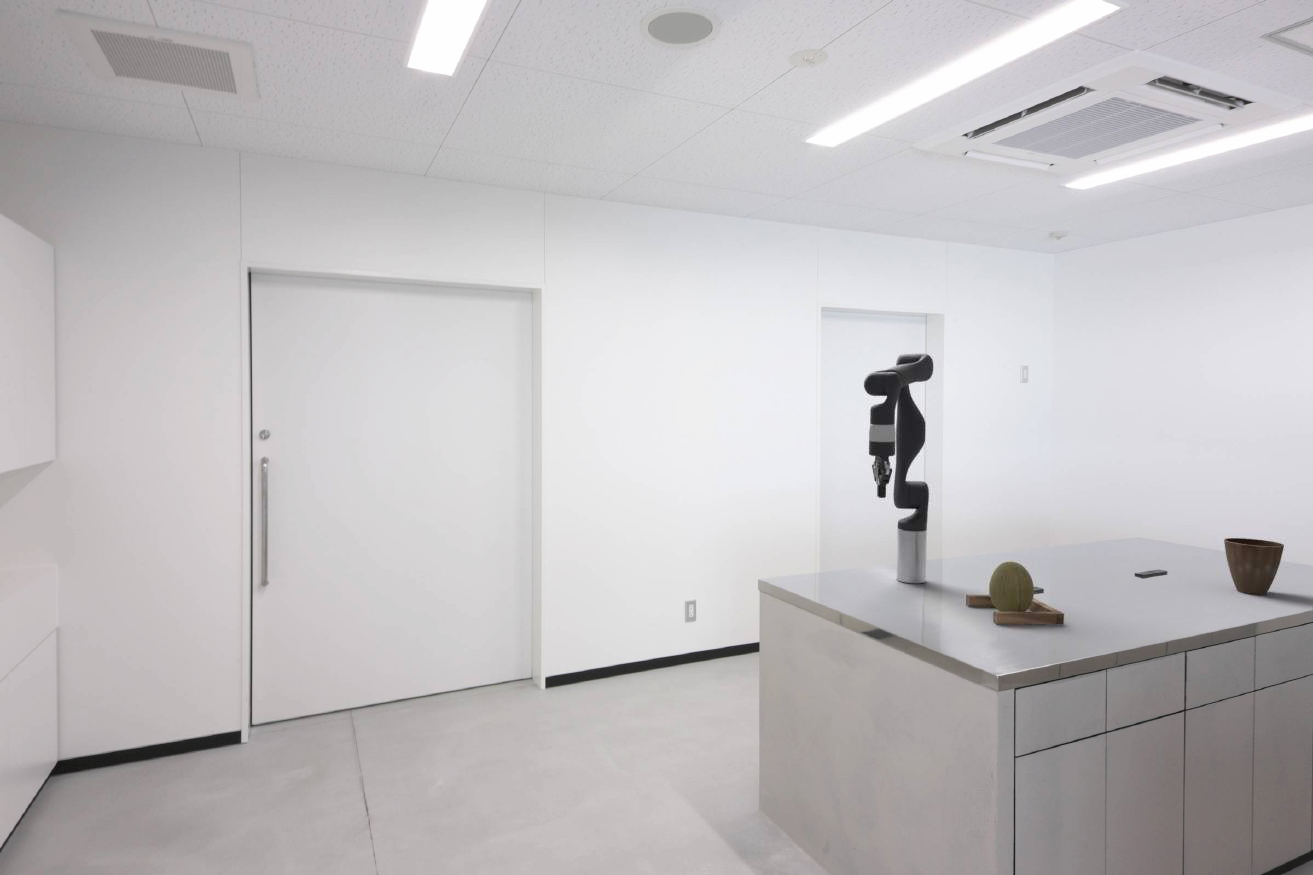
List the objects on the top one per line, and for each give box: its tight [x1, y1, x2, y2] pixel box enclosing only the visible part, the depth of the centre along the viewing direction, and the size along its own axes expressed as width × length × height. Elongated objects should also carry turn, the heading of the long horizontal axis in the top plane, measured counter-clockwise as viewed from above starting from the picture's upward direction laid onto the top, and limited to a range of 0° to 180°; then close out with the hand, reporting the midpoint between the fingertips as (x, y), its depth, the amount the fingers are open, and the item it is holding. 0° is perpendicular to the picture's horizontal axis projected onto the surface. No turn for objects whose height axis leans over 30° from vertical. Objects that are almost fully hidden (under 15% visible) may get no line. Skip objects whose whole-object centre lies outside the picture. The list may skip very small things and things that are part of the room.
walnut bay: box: [965, 594, 1065, 626], centre depth 214 cm, size 20×18×3 cm
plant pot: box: [1223, 537, 1285, 596], centre depth 240 cm, size 15×15×16 cm
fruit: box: [988, 560, 1035, 612], centre depth 213 cm, size 11×11×15 cm
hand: (881, 497), depth 227 cm, fingers closed
